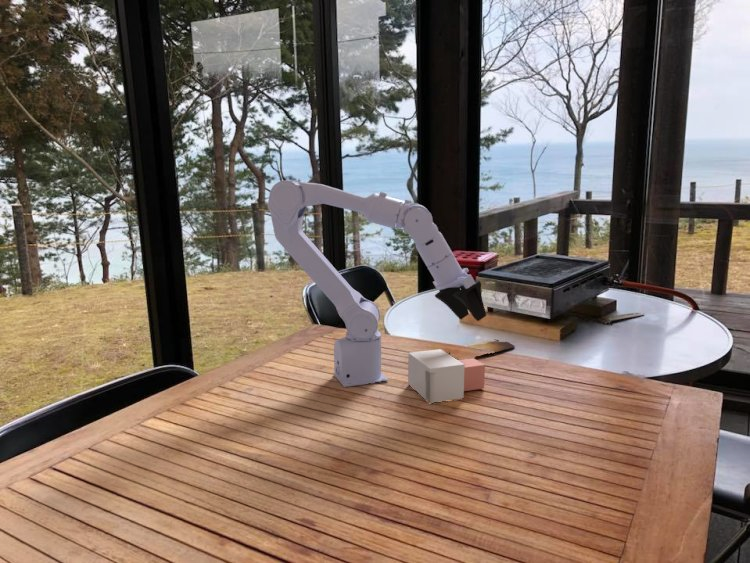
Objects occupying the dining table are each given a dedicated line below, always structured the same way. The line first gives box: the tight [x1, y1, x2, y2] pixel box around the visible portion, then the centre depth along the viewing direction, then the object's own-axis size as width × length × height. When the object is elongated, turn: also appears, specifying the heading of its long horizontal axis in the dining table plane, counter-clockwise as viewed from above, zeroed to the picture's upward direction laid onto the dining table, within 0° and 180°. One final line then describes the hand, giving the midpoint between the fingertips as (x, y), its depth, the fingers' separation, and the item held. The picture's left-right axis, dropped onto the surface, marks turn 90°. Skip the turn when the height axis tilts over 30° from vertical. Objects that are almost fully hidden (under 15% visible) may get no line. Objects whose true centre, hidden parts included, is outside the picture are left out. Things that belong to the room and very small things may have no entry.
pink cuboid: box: [458, 358, 486, 392], centre depth 108 cm, size 11×4×5 cm, turn 110°
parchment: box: [463, 339, 516, 353], centre depth 132 cm, size 25×10×1 cm, turn 122°
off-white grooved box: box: [407, 348, 465, 404], centre depth 106 cm, size 7×10×7 cm
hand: (472, 317), depth 111 cm, fingers open, 7 cm apart
